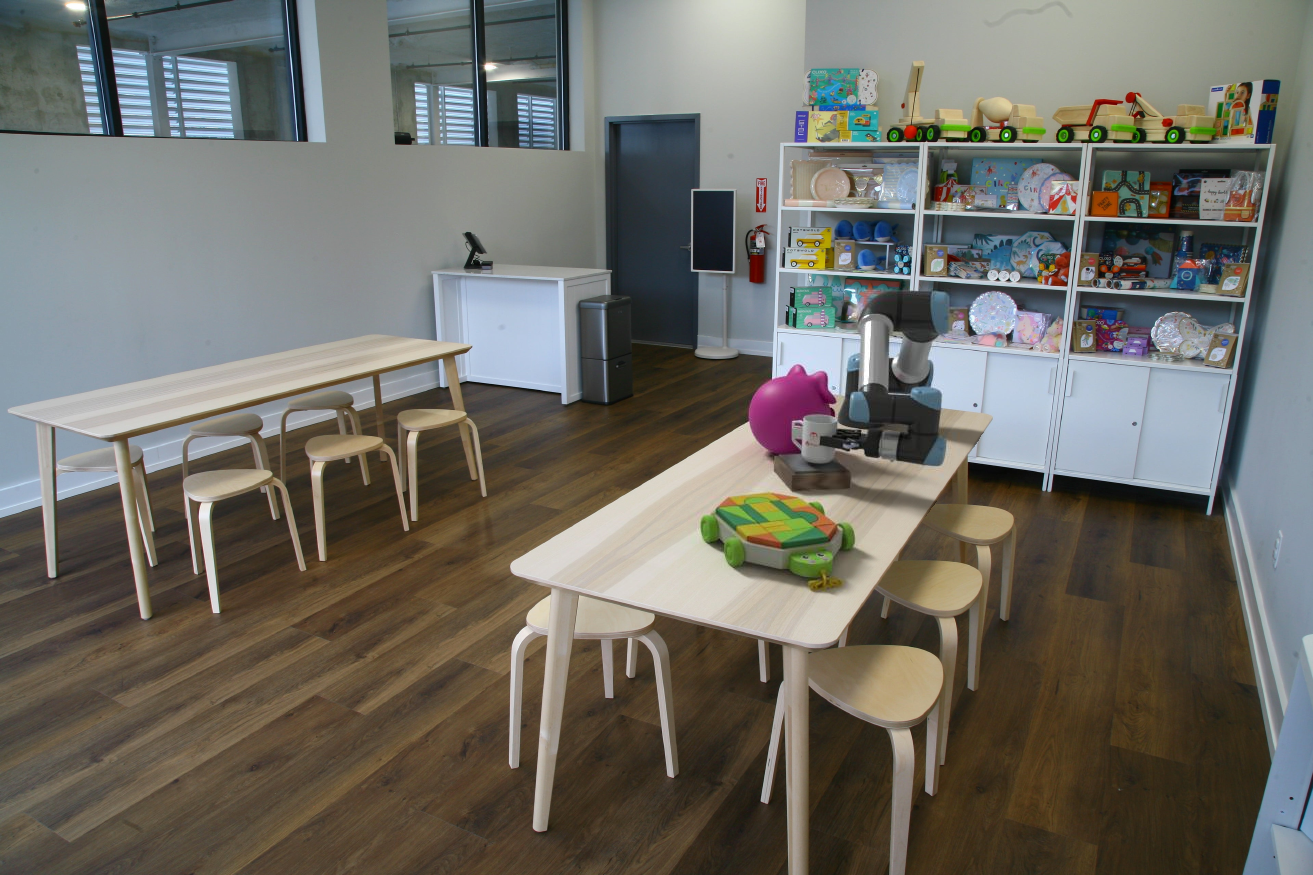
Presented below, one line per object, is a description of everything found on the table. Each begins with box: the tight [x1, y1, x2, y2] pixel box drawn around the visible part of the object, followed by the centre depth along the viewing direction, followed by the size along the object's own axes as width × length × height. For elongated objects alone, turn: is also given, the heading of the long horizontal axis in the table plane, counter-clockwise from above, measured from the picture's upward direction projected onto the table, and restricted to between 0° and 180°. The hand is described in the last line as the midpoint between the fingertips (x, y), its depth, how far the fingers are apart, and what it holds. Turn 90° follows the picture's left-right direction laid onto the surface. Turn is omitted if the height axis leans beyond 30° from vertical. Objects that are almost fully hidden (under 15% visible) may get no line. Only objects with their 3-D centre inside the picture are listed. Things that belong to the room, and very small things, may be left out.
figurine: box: [748, 363, 838, 455], centre depth 247 cm, size 23×24×25 cm
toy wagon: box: [699, 491, 856, 592], centre depth 184 cm, size 29×38×7 cm
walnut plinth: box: [773, 454, 852, 492], centre depth 229 cm, size 16×16×5 cm
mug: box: [792, 415, 839, 463], centre depth 226 cm, size 12×9×11 cm
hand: (793, 431), depth 228 cm, fingers closed on mug
